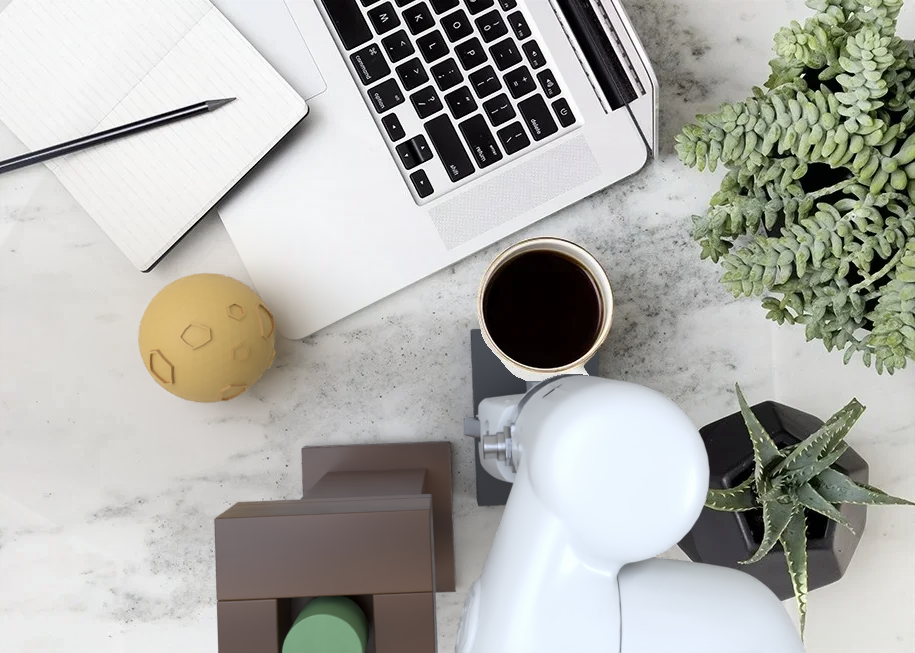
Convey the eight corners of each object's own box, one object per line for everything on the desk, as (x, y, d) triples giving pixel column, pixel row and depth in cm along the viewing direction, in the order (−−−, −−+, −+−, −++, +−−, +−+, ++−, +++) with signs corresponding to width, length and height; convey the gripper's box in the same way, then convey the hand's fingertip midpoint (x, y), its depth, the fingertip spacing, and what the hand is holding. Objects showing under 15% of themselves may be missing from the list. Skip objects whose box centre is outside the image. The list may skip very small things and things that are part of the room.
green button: (370, 668, 38) (364, 694, 35) (295, 671, 38) (282, 698, 35) (368, 592, 38) (361, 612, 35) (293, 595, 38) (280, 616, 35)
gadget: (598, 495, 64) (604, 501, 62) (476, 500, 64) (478, 506, 61) (590, 325, 65) (596, 324, 62) (470, 330, 65) (471, 329, 62)
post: (455, 587, 64) (460, 729, 40) (308, 594, 64) (224, 740, 40) (450, 440, 64) (451, 492, 40) (303, 446, 64) (217, 502, 40)
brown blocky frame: (440, 730, 40) (440, 772, 36) (244, 739, 40) (221, 782, 36) (432, 493, 40) (430, 509, 36) (237, 501, 40) (213, 518, 36)
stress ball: (144, 361, 64) (88, 363, 54) (204, 257, 64) (160, 240, 54) (249, 421, 64) (213, 434, 54) (309, 317, 64) (284, 310, 54)
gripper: (436, 516, 43) (439, 467, 61) (721, 504, 43) (639, 459, 62) (431, 379, 43) (436, 371, 62) (714, 368, 43) (635, 363, 62)
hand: (538, 415), depth 61 cm, fingers closed, pressing on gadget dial
